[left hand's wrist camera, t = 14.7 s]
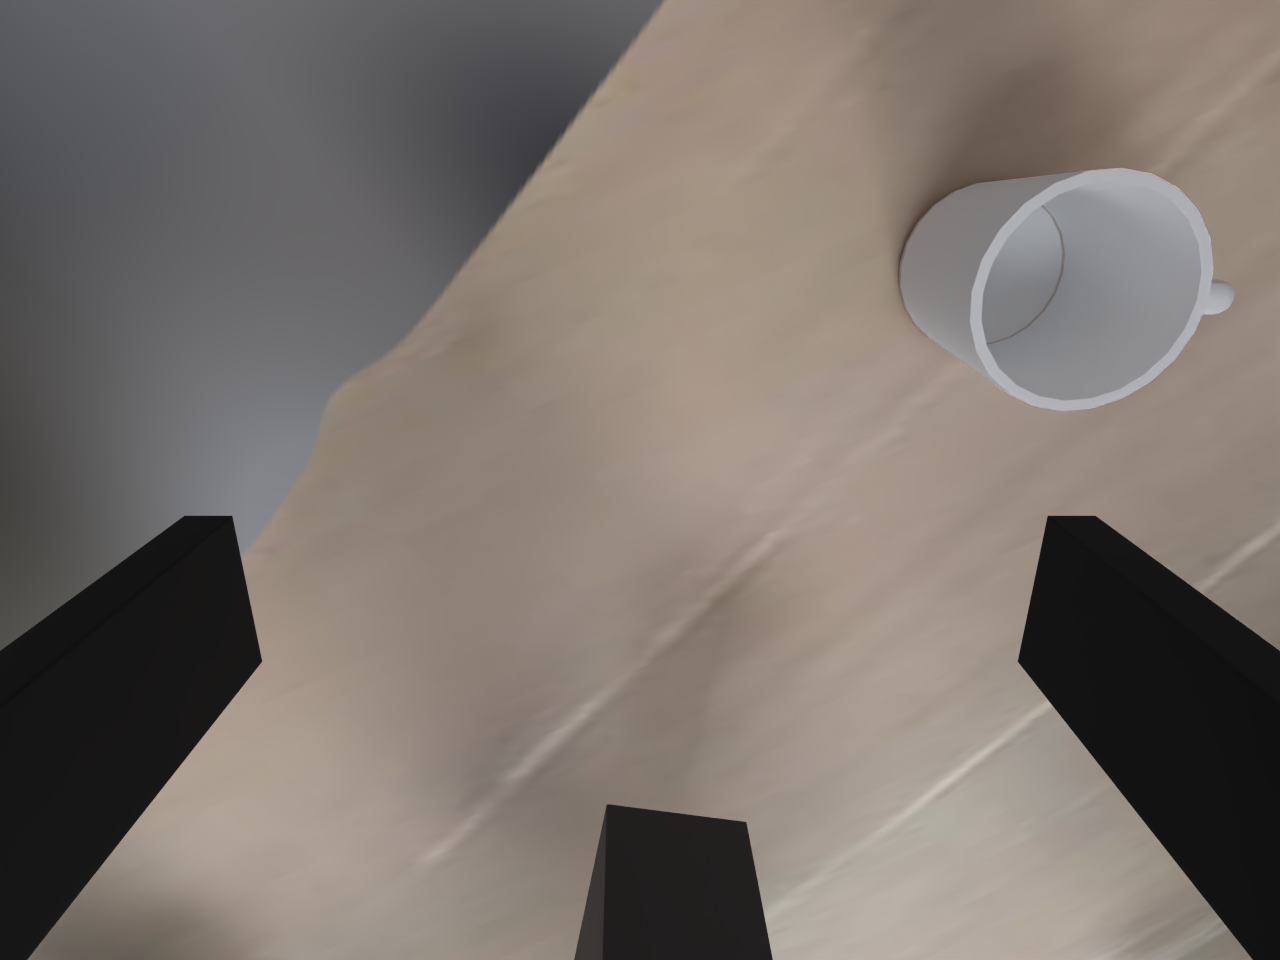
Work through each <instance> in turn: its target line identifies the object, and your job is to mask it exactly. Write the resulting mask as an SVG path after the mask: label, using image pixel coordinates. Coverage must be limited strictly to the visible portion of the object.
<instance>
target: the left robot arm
mask: <svg viewBox="0 0 1280 960" xmlns="http://www.w3.org/2000/svg"><path fill="white" fill-rule="evenodd" d="M261 662H262V659H261V654H260V649H259V644H258V639H257V634H256V629H255V624H254V620H253V615H252V610H251V605H250V600H249V595H248V590H247V586H246V581H245V576H244V571H243V566H242V561H241V556H240V552H239V547H238V542H237V537H236V532H235V527H234V523H233V517H232V516H184V517H182V518H181V519H180V520H178V521H177V522H176V523H174V524H173V525H172V526H170V527H169V528H167V529H166V530H165V531H163V532H162V533H161V534H159V535H158V536H157V537H155V538H154V539H152V540H151V541H150V542H148V543H147V544H146V545H144V546H143V547H141V548H140V549H139V550H137V551H136V552H135V553H133V554H132V555H131V556H129V557H128V558H127V559H125V560H124V561H122V562H121V563H120V564H118V565H117V566H116V567H114V568H113V569H111V570H110V571H109V572H107V573H106V574H105V575H103V576H102V577H101V578H99V579H98V580H96V581H95V582H94V583H92V584H91V585H90V586H88V587H87V588H86V589H84V590H83V591H81V592H80V593H79V594H77V595H76V596H75V597H73V598H72V599H71V600H69V601H68V602H66V603H65V604H64V605H62V606H61V607H60V608H58V609H57V610H56V611H54V612H53V613H51V614H50V615H49V616H47V617H46V618H45V619H43V620H42V621H41V622H39V623H38V624H36V625H35V626H34V627H32V628H31V629H30V630H28V631H27V632H26V633H24V634H23V635H21V636H20V637H19V638H17V639H16V640H15V641H13V642H12V643H10V644H9V645H8V646H6V647H5V648H4V649H2V650H1V651H0V960H27V959H28V958H29V957H30V955H31V954H32V953H33V951H34V950H35V949H36V948H37V946H38V945H39V944H40V943H41V941H42V940H43V939H44V938H45V936H46V935H47V934H48V932H49V931H50V930H51V929H52V927H53V926H54V925H55V924H56V922H57V921H58V920H59V918H60V917H61V916H62V915H63V913H64V912H65V911H66V910H67V908H68V907H69V906H70V905H71V903H72V902H73V901H74V899H75V898H76V897H77V896H78V894H79V893H80V892H81V891H82V889H83V888H84V887H85V885H86V884H87V883H88V882H89V880H90V879H91V878H92V877H93V875H94V874H95V873H96V872H97V870H98V869H99V868H100V866H101V865H102V864H103V863H104V861H105V860H106V859H107V858H108V856H109V855H110V854H111V853H112V851H113V850H114V849H115V847H116V846H117V845H118V844H119V842H120V841H121V840H122V839H123V837H124V836H125V835H126V833H127V832H128V831H129V830H130V828H131V827H132V826H133V825H134V823H135V822H136V821H137V820H138V818H139V817H140V816H141V814H142V813H143V812H144V811H145V809H146V808H147V807H148V806H149V804H150V803H151V802H152V801H153V799H154V798H155V797H156V795H157V794H158V793H159V792H160V790H161V789H162V788H163V787H164V785H165V784H166V783H167V781H168V780H169V779H170V778H171V776H172V775H173V774H174V773H175V771H176V770H177V769H178V768H179V766H180V765H181V764H182V762H183V761H184V760H185V759H186V757H187V756H188V755H189V754H190V752H191V751H192V750H193V749H194V747H195V746H196V745H197V743H198V742H199V741H200V740H201V738H202V737H203V736H204V735H205V733H206V732H207V731H208V729H209V728H210V727H211V726H212V724H213V723H214V722H215V721H216V719H217V718H218V717H219V716H220V714H221V713H222V712H223V710H224V709H225V708H226V707H227V705H228V704H229V703H230V702H231V700H232V699H233V698H234V697H235V695H236V694H237V693H238V691H239V690H240V689H241V688H242V686H243V685H244V684H245V683H246V681H247V680H248V679H249V677H250V676H251V675H252V674H253V672H254V671H255V670H256V669H257V667H258V666H259V665H260V664H261ZM1018 662H1019V664H1020V665H1021V666H1022V667H1023V669H1024V670H1025V671H1026V672H1027V674H1028V675H1029V676H1030V677H1031V679H1032V680H1033V681H1034V683H1035V684H1036V685H1037V686H1038V688H1039V689H1040V690H1041V691H1042V693H1043V694H1044V695H1045V697H1046V698H1047V699H1048V700H1049V702H1050V703H1051V704H1052V705H1053V707H1054V708H1055V709H1056V710H1057V712H1058V713H1059V714H1060V716H1061V717H1062V718H1063V719H1064V721H1065V722H1066V723H1067V724H1068V726H1069V727H1070V728H1071V729H1072V731H1073V732H1074V733H1075V735H1076V736H1077V737H1078V738H1079V740H1080V741H1081V742H1082V743H1083V745H1084V746H1085V747H1086V749H1087V750H1088V751H1089V752H1090V754H1091V755H1092V756H1093V757H1094V759H1095V760H1096V761H1097V762H1098V764H1099V765H1100V766H1101V768H1102V769H1103V770H1104V771H1105V773H1106V774H1107V775H1108V776H1109V778H1110V779H1111V780H1112V781H1113V783H1114V784H1115V785H1116V787H1117V788H1118V789H1119V790H1120V792H1121V793H1122V794H1123V795H1124V797H1125V798H1126V799H1127V801H1128V802H1129V803H1130V804H1131V806H1132V807H1133V808H1134V809H1135V811H1136V812H1137V813H1138V814H1139V816H1140V817H1141V818H1142V820H1143V821H1144V822H1145V823H1146V825H1147V826H1148V827H1149V828H1150V830H1151V831H1152V832H1153V833H1154V835H1155V836H1156V837H1157V839H1158V840H1159V841H1160V842H1161V844H1162V845H1163V846H1164V847H1165V849H1166V850H1167V851H1168V853H1169V854H1170V855H1171V856H1172V858H1173V859H1174V860H1175V861H1176V863H1177V864H1178V865H1179V866H1180V868H1181V869H1182V870H1183V872H1184V873H1185V874H1186V875H1187V877H1188V878H1189V879H1190V880H1191V882H1192V883H1193V884H1194V886H1195V887H1196V888H1197V889H1198V891H1199V892H1200V893H1201V894H1202V896H1203V897H1204V898H1205V899H1206V901H1207V902H1208V903H1209V905H1210V906H1211V907H1212V908H1213V910H1214V911H1215V912H1216V913H1217V915H1218V916H1219V917H1220V918H1221V920H1222V921H1223V922H1224V924H1225V925H1226V926H1227V927H1228V929H1229V930H1230V931H1231V932H1232V934H1233V935H1234V936H1235V938H1236V939H1237V940H1238V941H1239V943H1240V944H1241V945H1242V946H1243V948H1244V949H1245V950H1246V951H1247V953H1248V954H1249V955H1250V957H1251V958H1252V959H1253V960H1280V651H1279V650H1278V649H1276V648H1275V647H1274V646H1272V645H1271V644H1270V643H1268V642H1267V641H1265V640H1264V639H1263V638H1261V637H1260V636H1259V635H1257V634H1256V633H1254V632H1253V631H1252V630H1250V629H1249V628H1248V627H1246V626H1245V625H1244V624H1242V623H1241V622H1239V621H1238V620H1237V619H1235V618H1234V617H1233V616H1231V615H1230V614H1229V613H1227V612H1226V611H1224V610H1223V609H1222V608H1220V607H1219V606H1218V605H1216V604H1215V603H1214V602H1212V601H1211V600H1209V599H1208V598H1207V597H1205V596H1204V595H1203V594H1201V593H1200V592H1199V591H1197V590H1196V589H1194V588H1193V587H1192V586H1190V585H1189V584H1188V583H1186V582H1185V581H1184V580H1182V579H1181V578H1179V577H1178V576H1177V575H1175V574H1174V573H1173V572H1171V571H1170V570H1169V569H1167V568H1166V567H1164V566H1163V565H1162V564H1160V563H1159V562H1158V561H1156V560H1155V559H1154V558H1152V557H1151V556H1149V555H1148V554H1147V553H1145V552H1144V551H1143V550H1141V549H1140V548H1139V547H1137V546H1136V545H1134V544H1133V543H1132V542H1130V541H1129V540H1128V539H1126V538H1125V537H1124V536H1122V535H1121V534H1119V533H1118V532H1117V531H1115V530H1114V529H1113V528H1111V527H1110V526H1108V525H1107V524H1106V523H1104V522H1103V521H1102V520H1100V519H1099V518H1098V517H1096V516H1048V517H1047V522H1046V527H1045V532H1044V537H1043V542H1042V547H1041V552H1040V556H1039V561H1038V566H1037V571H1036V576H1035V581H1034V586H1033V590H1032V595H1031V600H1030V605H1029V610H1028V615H1027V620H1026V624H1025V629H1024V634H1023V639H1022V644H1021V649H1020V654H1019V659H1018Z"/></svg>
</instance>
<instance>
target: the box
mask: <svg viewBox="0 0 1280 960" xmlns="http://www.w3.org/2000/svg"><path fill="white" fill-rule="evenodd" d="M574 960H773V959H772V954H771V949H770V944H769V938H768V933H767V928H766V923H765V917H764V912H763V907H762V902H761V897H760V891H759V886H758V881H757V876H756V871H755V865H754V860H753V855H752V850H751V845H750V839H749V834H748V829H747V824H746V822H741V821H733V820H725V819H718V818H710V817H702V816H694V815H686V814H679V813H671V812H663V811H655V810H648V809H640V808H632V807H624V806H616V805H609V804H607V806H606V811H605V816H604V821H603V826H602V830H601V835H600V840H599V845H598V849H597V854H596V859H595V864H594V868H593V873H592V878H591V883H590V887H589V892H588V897H587V902H586V907H585V911H584V916H583V921H582V926H581V930H580V935H579V940H578V945H577V949H576V954H575V959H574Z"/></svg>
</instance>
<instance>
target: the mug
mask: <svg viewBox="0 0 1280 960" xmlns="http://www.w3.org/2000/svg"><path fill="white" fill-rule="evenodd" d="M1213 270H1214V268H1213V258H1212V248H1211V238H1210V236H1209V233H1208V231H1207V229H1206V226H1205V224H1204V222H1203V219H1202V217H1201V214H1200V212H1199V210H1198V209H1197V208H1196V207H1195V206H1194V205H1193V203H1192V202H1191V201H1190V200H1189V199H1188V198H1187V197H1186V196H1185V194H1184V193H1183V192H1182V191H1181V190H1180V189H1179V188H1178V187H1176V186H1174V185H1172V184H1170V183H1169V182H1167V181H1165V180H1163V179H1161V178H1160V177H1158V176H1156V175H1154V174H1152V173H1147V172H1142V171H1136V170H1131V169H1126V168H1108V169H1098V170H1087V171H1078V172H1069V173H1061V174H1052V175H1044V176H1035V177H1026V178H1018V179H1009V180H1001V181H992V182H983V183H974V184H972V185H969V186H966V187H964V188H961V189H958V190H956V191H953V192H951V193H950V194H949V195H947V196H946V197H944V198H943V199H941V200H940V201H938V202H937V203H935V204H934V205H933V206H932V207H931V208H930V209H929V210H928V211H927V212H926V213H925V215H924V216H923V217H922V218H921V219H920V220H919V221H918V222H917V224H916V226H915V227H914V229H913V231H912V233H911V234H910V236H909V238H908V240H907V242H906V244H905V247H904V251H903V254H902V258H901V261H900V265H899V289H900V293H901V298H902V302H903V306H904V308H905V310H906V311H907V313H908V315H909V317H910V318H911V320H912V322H913V324H914V325H915V326H916V327H918V328H919V329H920V330H921V331H922V332H923V333H924V334H925V335H926V336H927V337H929V338H930V339H932V340H933V341H934V342H936V343H937V344H939V345H940V346H941V347H943V348H944V349H946V350H947V351H948V352H950V353H951V354H953V355H954V356H955V357H957V358H958V359H960V360H961V361H962V362H964V363H965V364H967V365H968V366H969V367H971V368H972V369H974V370H975V371H976V372H978V373H979V374H981V375H982V376H984V377H985V378H986V379H988V380H989V381H991V382H992V383H993V384H995V385H996V386H998V387H999V388H1000V389H1002V390H1003V391H1005V392H1006V393H1008V394H1010V395H1012V396H1014V397H1016V398H1018V399H1020V400H1022V401H1024V402H1026V403H1028V404H1030V405H1032V406H1035V407H1041V408H1047V409H1052V410H1058V411H1070V410H1082V409H1092V408H1095V407H1099V406H1102V405H1105V404H1108V403H1111V402H1114V401H1117V400H1120V399H1122V398H1124V397H1126V396H1128V395H1129V394H1131V393H1133V392H1134V391H1136V390H1138V389H1139V388H1141V387H1143V386H1144V385H1146V384H1148V383H1150V382H1151V381H1152V380H1153V379H1154V378H1155V377H1156V376H1158V375H1159V374H1160V373H1161V372H1162V371H1163V370H1164V369H1165V368H1166V367H1167V366H1168V365H1170V364H1171V363H1172V362H1173V361H1174V360H1175V359H1176V358H1177V356H1178V355H1179V353H1180V352H1181V351H1182V349H1183V348H1184V346H1185V345H1186V344H1187V342H1188V341H1189V339H1190V338H1191V337H1192V335H1193V334H1194V332H1195V331H1196V328H1197V326H1198V324H1199V321H1200V319H1201V317H1202V314H1218V313H1221V312H1223V311H1224V310H1226V309H1228V308H1229V306H1230V305H1231V303H1232V301H1233V300H1234V288H1233V287H1232V286H1231V284H1230V283H1229V282H1225V281H1222V280H1216V279H1212V276H1213Z"/></svg>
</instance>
